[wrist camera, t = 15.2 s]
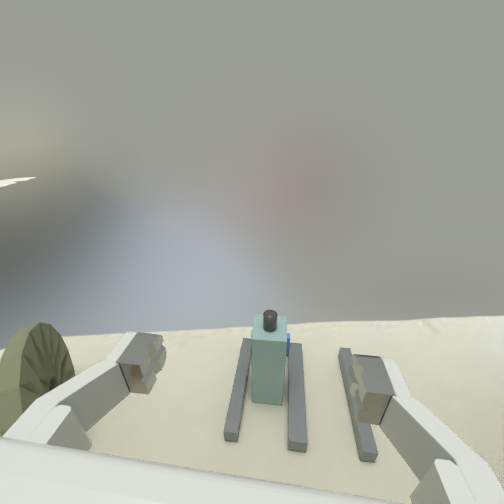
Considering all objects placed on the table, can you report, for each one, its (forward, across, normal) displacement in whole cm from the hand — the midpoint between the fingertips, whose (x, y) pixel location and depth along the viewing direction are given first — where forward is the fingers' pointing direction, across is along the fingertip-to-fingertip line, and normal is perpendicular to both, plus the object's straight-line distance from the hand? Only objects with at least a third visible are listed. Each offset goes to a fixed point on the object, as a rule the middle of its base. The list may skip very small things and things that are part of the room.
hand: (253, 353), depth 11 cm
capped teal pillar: (+15, 0, +25) cm, 29 cm away
